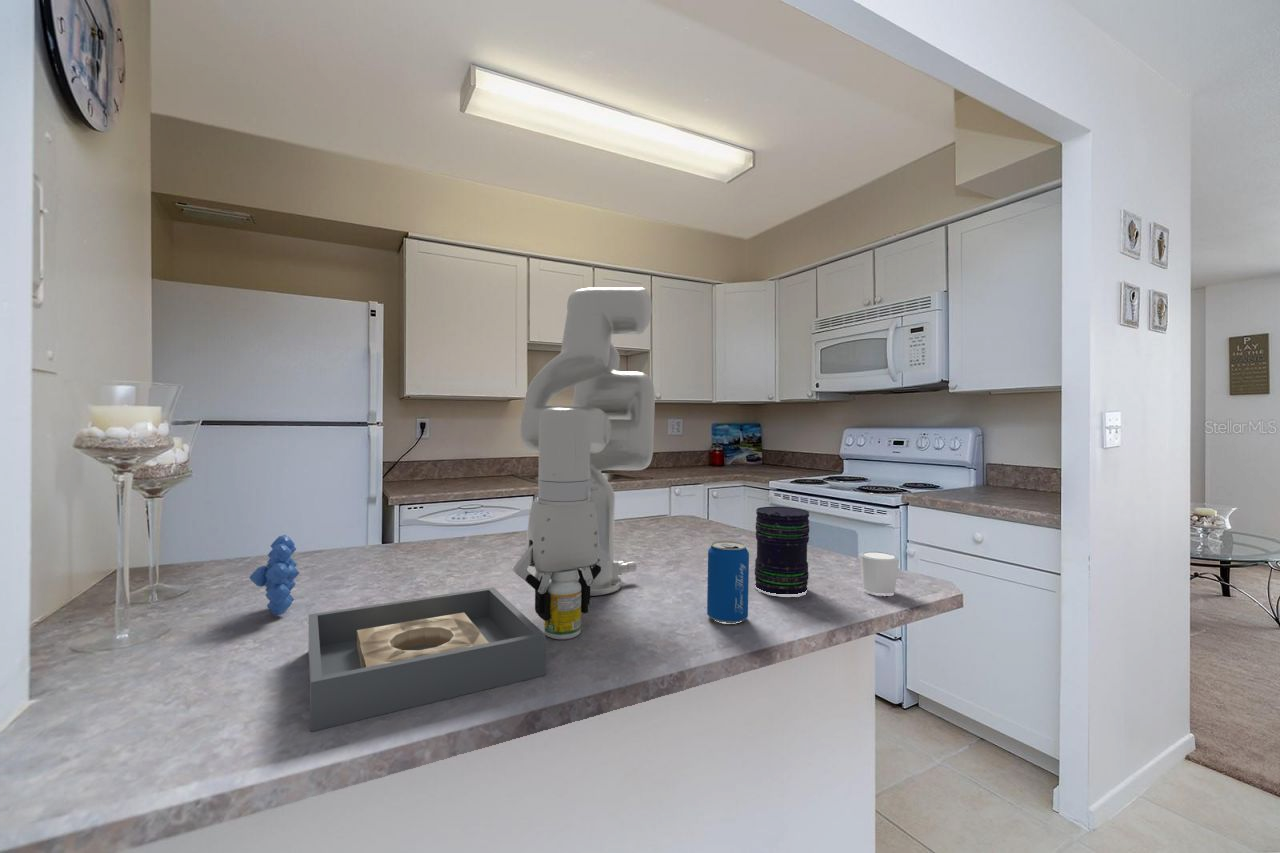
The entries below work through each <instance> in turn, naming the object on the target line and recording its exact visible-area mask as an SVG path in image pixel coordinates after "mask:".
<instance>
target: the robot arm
mask: <svg viewBox="0 0 1280 853" xmlns="http://www.w3.org/2000/svg"><path fill="white" fill-rule="evenodd" d="M652 304H653V303H652V298H651V295H650V293H649V291H648V290H647V289H646V288H644V287H634V286H633V287H629V286H628V287H625V286H624V287H618V286H617V287H585V288H579V289H577V290H574V291H573V292H572V293H570V295H569V296H568V298H567V303H566V305H567V306H566V310H567V311H566V318H565V324H564V329H563V330H564V331H563V337H562V341H561V342H562V343H561V349H560V353H559V354H557V356H554V357H553V358H552V359H551V360H550V361H549V362H547V363H546V364H545V365H544V366H543V367H542V368H541V369H540V370H539V371H538V372H537V374H535V376H534V377H533V378H532V379H531V381H530V383H529V385H528V387H527V390H526V393H525V396H524V403H523V408H522V412H521V417H520V424H519V426H520V430H519V434H520V439H521V443H522V444H523V446H524V447H525V448H526V449H527V450H529V451H531V452H532V453H538V474H537V475H538V476H537V477H538V480H537V481H538V485H537V489H538V491H537V492H538V494H537V495H538V496H537V498H538V499H537V500H533V501H532V503H531V506H530V511H529V518H528V523H527V532H526V539H525V540H526V541H525V552H524V553H523V554H522V556H521V557H520V558H519V560H518V561H516V563H515V565H514V566H513V568H512V572H513V573H514V574H516V575H517V576H518V577H520V578H521V579H523V580H524V581H525V582H526V583H527V584H528V585H530V587H531V588H532V589H534V611H535V614H537V616H538V617H540V619H542V620H543V622H545V621H548V620H549V619H550V593H548V592H547V587H548V584H549V581H551V579H550V577H551V574H552V572H559V571H566V570H573V569H577V578H576V579H575V580H576V581H578V582H579V583H580V585H581V614H582V613H583V614H588V613H589V605H590V604H591V597H594V596H604V595H608V594H609V595H610V594H612V593H615V592H616V591H618V590H619V589H621V588H622V585H623V584H622V583H623V581H622V578H621V577H620V576H622V575H623V573H634V572H636V571H637V564H636V562H635V561H629V562H624V561H623V560H618V561H617V560H615V507H616V506H615V505H616V503H615V501H616V500H615V498H616V496H615V491H614V488H613V487H612V485H611V484H610V482H609V481H608V479H607V478H606V477H605V475H604V474H603V472H602V471H643V470H645V469H647V468H648V467H649V466H650V464H651V463H652V459H653V456H654V445H655V444H654V443H655V442H654V438H655V436H654V435H655V412H656V410H655V407H656V405H655V404H656V397H655V396H656V395H655V394H656V393H655V387H654V383H653V380H652V378H651V377H650V376H649V375H648V374H647V373H644V372H642V371H641V372H640V371H629V370H628V371H621V370H620V362H621V360H620V359H621V358H620V357H621V356H620V354H619V351H618V350H617V348H616V347H615V345H614V344H613V343H612V342H611V340H612V335H640V334H643V333H644V332H645V330H646V329H647V328H648V327H649V325H650V322H651V318H652V312H653V308H652V307H653V305H652ZM573 386H574V391H573V406H564V405H562V406H561V405H559V406H557V405H548V403H549V402H550V401H551V399H552V398H553V397H555V396H557V394H559V393H561V392H563V391H564V390H566V389H569V388H571V387H573ZM529 567H532V568H533V567H534V568H535V573H534V574H532V573H531V572H529V570H528V568H529Z"/></svg>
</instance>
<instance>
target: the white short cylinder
mask: <svg viewBox="0 0 1280 853" xmlns="http://www.w3.org/2000/svg"><path fill="white" fill-rule="evenodd" d="M899 561H900V558H899V556H897V555H896V554H892V553H888V552H883V551H882V552H881V551H863V552H860V553H859V566H860V579H861V589H862V588H863V589H865V590H867V591H870V592H875V593H893V592H895V593H896V587H897V586H896V585H897V578H898V571H899V570H898V569H899V563H900V562H899Z"/></svg>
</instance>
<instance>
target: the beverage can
mask: <svg viewBox="0 0 1280 853" xmlns="http://www.w3.org/2000/svg"><path fill="white" fill-rule="evenodd" d="M749 564H750V553H749V551H748V549H747V544H746V543H743V542H740V541H735V540H717V541H712V542H711V543H710V547H709V549H708V550H707V591H706V592H707V593H706V597H707V599H706V600H707V601H706V602H707V603H706V614H707V616H708V617H709V618H711V620H712V619H714V620H716V621H719V622H726V623H736V622H740V621H745V620H746V619H748V617H749V616H748V615H749V583H750V581H749V578H750V577H749V574H750V573H749V572H750V566H749Z"/></svg>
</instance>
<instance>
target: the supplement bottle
mask: <svg viewBox="0 0 1280 853" xmlns="http://www.w3.org/2000/svg"><path fill="white" fill-rule="evenodd" d="M576 578H577V569H573V570H566V571H559V572H552V574H551V577H550V580H549V584H548V587H547V592H548V593H550V619H549V620H548V621H544V634H545V635H546V637H549V638H551V639H554V640H569V639H570V640H571V639H573V638H575V637H578V636H579V635H580V634H581V632H582V631H581V630H582V612H581V585H580V583H579V582H578V581H576V580H575V579H576Z"/></svg>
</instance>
